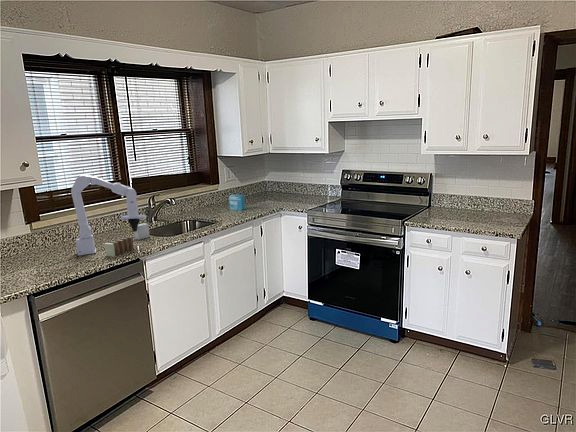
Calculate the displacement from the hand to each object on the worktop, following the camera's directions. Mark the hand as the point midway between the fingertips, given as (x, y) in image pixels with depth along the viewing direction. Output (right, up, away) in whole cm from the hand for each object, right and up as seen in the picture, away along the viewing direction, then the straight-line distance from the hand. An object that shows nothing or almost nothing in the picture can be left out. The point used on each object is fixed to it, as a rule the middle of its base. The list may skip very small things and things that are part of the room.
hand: (135, 231), depth 255 cm
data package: (+48, +14, +98) cm, 111 cm away
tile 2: (-3, -11, -7) cm, 13 cm away
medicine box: (-2, -5, +20) cm, 20 cm away
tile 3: (-5, -11, -10) cm, 16 cm away
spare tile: (-8, -13, -16) cm, 22 cm away
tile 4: (-6, -12, -13) cm, 19 cm away
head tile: (-2, -10, -4) cm, 11 cm away
